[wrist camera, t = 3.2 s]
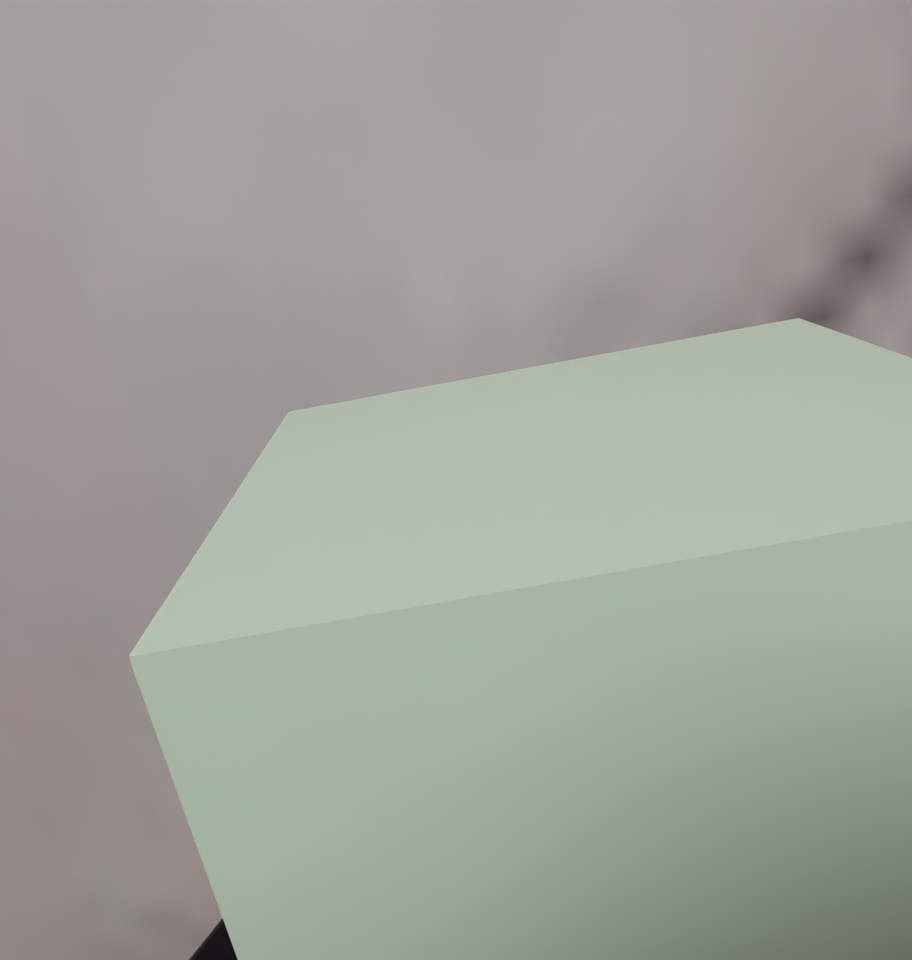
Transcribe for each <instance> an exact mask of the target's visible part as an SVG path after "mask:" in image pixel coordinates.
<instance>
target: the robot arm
mask: <svg viewBox="0 0 912 960" xmlns="http://www.w3.org/2000/svg"><path fill="white" fill-rule="evenodd" d="M189 960H238V959H237V956H236V954H235V951H234V948H233V945H232V942H231V940H230V937H229V934H228V931H227V929H226V926H225V923H224V920H223V918H222V919H221V921H220V922H219V923H218V924H217V926H216V927H215V928H214V929H213V931H212V932H211V933H210V934H209V936H208V937H207V938H206V939H205V941H204V942H203V943H202V944H201V946H200V947H199V948H198V949H197V951H196V952H195V953H194V954H193V956H192V957H191V958H190V959H189Z"/></svg>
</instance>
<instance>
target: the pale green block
mask: <svg viewBox="0 0 912 960" xmlns="http://www.w3.org/2000/svg"><path fill="white" fill-rule="evenodd" d="M128 657H129V660H130V662H131V665H132V668H133V671H134V673H135V676H136V679H137V682H138V685H139V687H140V690H141V693H142V696H143V698H144V701H145V704H146V707H147V710H148V712H149V715H150V718H151V721H152V723H153V726H154V729H155V732H156V735H157V737H158V740H159V743H160V746H161V748H162V751H163V754H164V757H165V759H166V762H167V765H168V768H169V771H170V773H171V776H172V779H173V782H174V784H175V787H176V790H177V793H178V796H179V798H180V801H181V804H182V807H183V809H184V812H185V815H186V818H187V820H188V823H189V826H190V829H191V832H192V834H193V837H194V840H195V843H196V845H197V848H198V851H199V854H200V857H201V859H202V862H203V865H204V868H205V870H206V873H207V876H208V879H209V881H210V884H211V887H212V890H213V893H214V895H215V898H216V901H217V904H218V906H219V909H220V912H221V915H222V918H223V920H224V923H225V926H226V929H227V931H228V934H229V937H230V940H231V942H232V945H233V948H234V951H235V954H236V956H237V959H238V960H912V358H910V357H908V356H905V355H902V354H899V353H896V352H893V351H890V350H888V349H885V348H882V347H879V346H876V345H873V344H871V343H868V342H865V341H862V340H859V339H856V338H854V337H851V336H848V335H845V334H842V333H839V332H837V331H834V330H831V329H828V328H825V327H822V326H819V325H817V324H814V323H811V322H808V321H805V320H802V319H800V318H796V319H791V320H786V321H780V322H775V323H769V324H764V325H758V326H753V327H747V328H742V329H737V330H731V331H726V332H720V333H715V334H709V335H704V336H698V337H693V338H688V339H682V340H677V341H671V342H666V343H660V344H655V345H649V346H644V347H639V348H633V349H628V350H622V351H617V352H611V353H606V354H601V355H595V356H590V357H584V358H579V359H573V360H568V361H562V362H557V363H552V364H546V365H541V366H535V367H530V368H524V369H519V370H513V371H508V372H503V373H497V374H492V375H486V376H481V377H475V378H470V379H464V380H459V381H454V382H448V383H443V384H437V385H432V386H426V387H421V388H416V389H410V390H405V391H399V392H394V393H388V394H383V395H377V396H372V397H367V398H361V399H356V400H350V401H345V402H339V403H334V404H328V405H323V406H318V407H312V408H307V409H301V410H296V411H290V412H288V413H287V415H286V416H285V418H284V419H283V421H282V422H281V424H280V426H279V427H278V429H277V430H276V432H275V433H274V435H273V436H272V438H271V439H270V441H269V442H268V444H267V445H266V447H265V448H264V450H263V452H262V453H261V455H260V456H259V458H258V459H257V461H256V462H255V464H254V465H253V467H252V468H251V470H250V471H249V473H248V474H247V476H246V478H245V479H244V481H243V482H242V484H241V485H240V487H239V488H238V490H237V491H236V493H235V494H234V496H233V497H232V499H231V500H230V502H229V504H228V505H227V507H226V508H225V510H224V511H223V513H222V514H221V516H220V517H219V519H218V520H217V522H216V523H215V525H214V526H213V528H212V530H211V531H210V533H209V534H208V536H207V537H206V539H205V540H204V542H203V543H202V545H201V546H200V548H199V549H198V551H197V552H196V554H195V556H194V557H193V559H192V560H191V562H190V563H189V565H188V566H187V568H186V569H185V571H184V572H183V574H182V575H181V577H180V578H179V580H178V582H177V583H176V585H175V586H174V588H173V589H172V591H171V592H170V594H169V595H168V597H167V598H166V600H165V601H164V603H163V604H162V606H161V608H160V609H159V611H158V612H157V614H156V615H155V617H154V618H153V620H152V621H151V623H150V624H149V626H148V627H147V629H146V630H145V632H144V634H143V635H142V637H141V638H140V640H139V641H138V643H137V644H136V646H135V647H134V649H133V650H132V652H131V653H130V655H129V656H128Z"/></svg>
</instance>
